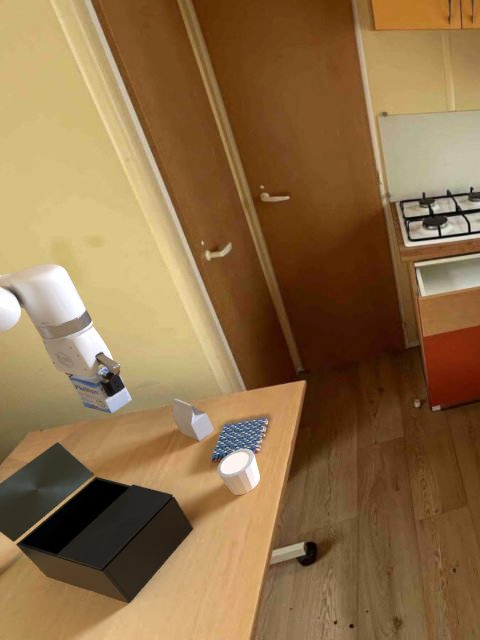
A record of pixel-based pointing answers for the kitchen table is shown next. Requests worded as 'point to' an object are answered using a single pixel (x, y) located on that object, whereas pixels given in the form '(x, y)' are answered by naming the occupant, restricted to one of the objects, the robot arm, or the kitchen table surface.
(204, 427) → the white gable carton
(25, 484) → the flap
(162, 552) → the black flap box
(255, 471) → the white short cylinder
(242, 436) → the woven mat
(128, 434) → the kitchen table surface
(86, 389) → the medicine box
